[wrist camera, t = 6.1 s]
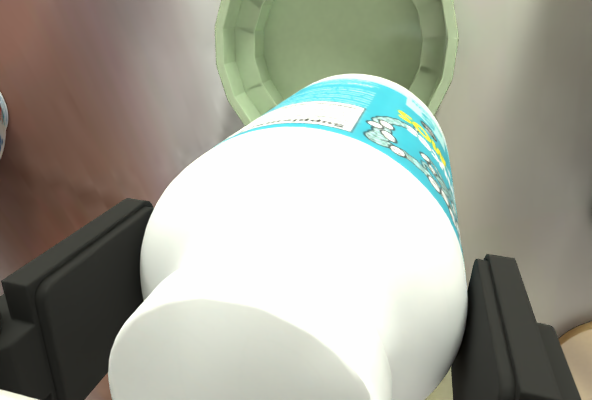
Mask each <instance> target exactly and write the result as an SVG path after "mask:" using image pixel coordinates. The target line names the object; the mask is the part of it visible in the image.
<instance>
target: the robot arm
mask: <svg viewBox="0 0 592 400" xmlns="http://www.w3.org/2000/svg"><path fill="white" fill-rule="evenodd" d="M153 210H154V208H153V206H152V204H151V203H150V202H149V201H143V200H137V199H130V198H127V199H125V200H123V201H122V202H120V203H118V204H117V205H115V206H114V207H112V208H111V209H109V210H108V211H106V212H105V213H103V214H102V215H100V216H99V217H97V218H96V219H94V220H93V221H91V222H90V223H88V224H87V225H85V226H84V227H82V228H81V229H79V230H78V231H76V232H75V233H73V234H72V235H70V236H69V237H67V238H66V239H64V240H63V241H61V242H59V243H58V244H56V245H55V246H53V247H52V248H50V249H49V250H47V251H46V252H44V253H43V254H41V255H40V256H38V257H37V258H35V259H34V260H32V261H31V262H29V263H28V264H26V265H25V266H23V267H22V268H20V269H19V270H17V271H16V272H14V273H13V274H11V275H10V276H8V277H7V278H5V279H4V280H2V281H1V282H2V286H3V290H4V294H3V295H2V296H0V400H84V399H85V398H86V397H87V396H88V395H89V394H90V392H91V391H92V390H93V389H94V388H95V387H96V385H97V384H98V383H99V382H100V381H101V380H102V378H103V377H104V376H105V375H106V374H107V373H108V369H109V358H110V353H111V349H112V347H113V344H114V342H115V339H116V336H117V335H118V333H119V331H120V330H121V328H122V326H123V325H124V323H125V322H126V321H127V320H128V319H129V317H130V316H131V315H132V314H133V313H134V312H135V311H136V310H137V308H138V307H139V306H140V305H141V304H142V303H143V302H144V300H143V295H142V289H141V280H140V255H141V247H142V242H143V238H144V234H145V230H146V226H147V224H148V221H149V219H150V216H151V214H152V212H153ZM467 293H468V312H467V320H466V328H465V332H464V335H463V339H462V343H461V346H460V348H459V351H458V353H457V356H456V358H455V359H454V361H453V363H452V366H451V372H452V388H453V400H582V399H581V397H580V394H579V392H578V389H577V386H576V384H575V381H574V379H573V376H572V373H571V371H570V368H569V366H568V363H567V360H566V358H565V355H564V353H563V350H562V347H561V345H560V342H559V340H558V337H557V334H556V332H555V330H554V328H553V327H552V326H550V325H546V324H541V323H537V322H536V319H535V316H534V313H533V310H532V307H531V304H530V301H529V298H528V296H527V293H526V290H525V287H524V284H523V281H522V278H521V275H520V272H519V269H518V266H517V263H516V260H515V258H509V257H503V256H496V255H490V254H487V255H486V256H485V258H484V260H480V259H476V260H475V262H474V265H473V269H472V274H471V278H470V282H469V286H468V291H467Z"/></svg>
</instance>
